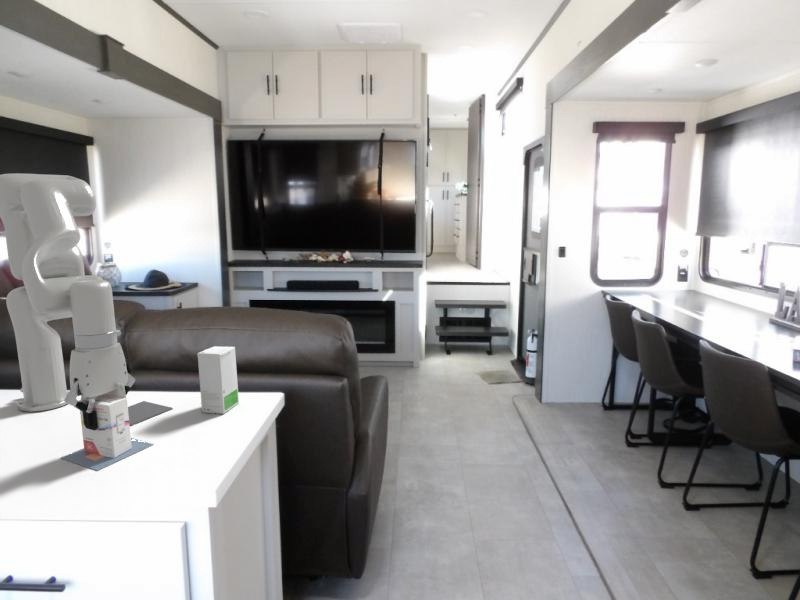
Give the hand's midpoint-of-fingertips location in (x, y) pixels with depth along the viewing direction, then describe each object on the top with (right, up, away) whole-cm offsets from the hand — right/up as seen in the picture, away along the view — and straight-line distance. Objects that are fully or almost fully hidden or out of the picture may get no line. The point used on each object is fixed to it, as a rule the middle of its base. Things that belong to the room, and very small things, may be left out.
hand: (105, 422), depth 112 cm
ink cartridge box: (0, -7, +1) cm, 7 cm away
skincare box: (+16, -2, +25) cm, 30 cm away
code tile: (0, -6, +1) cm, 6 cm away
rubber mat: (-4, -3, +22) cm, 22 cm away
